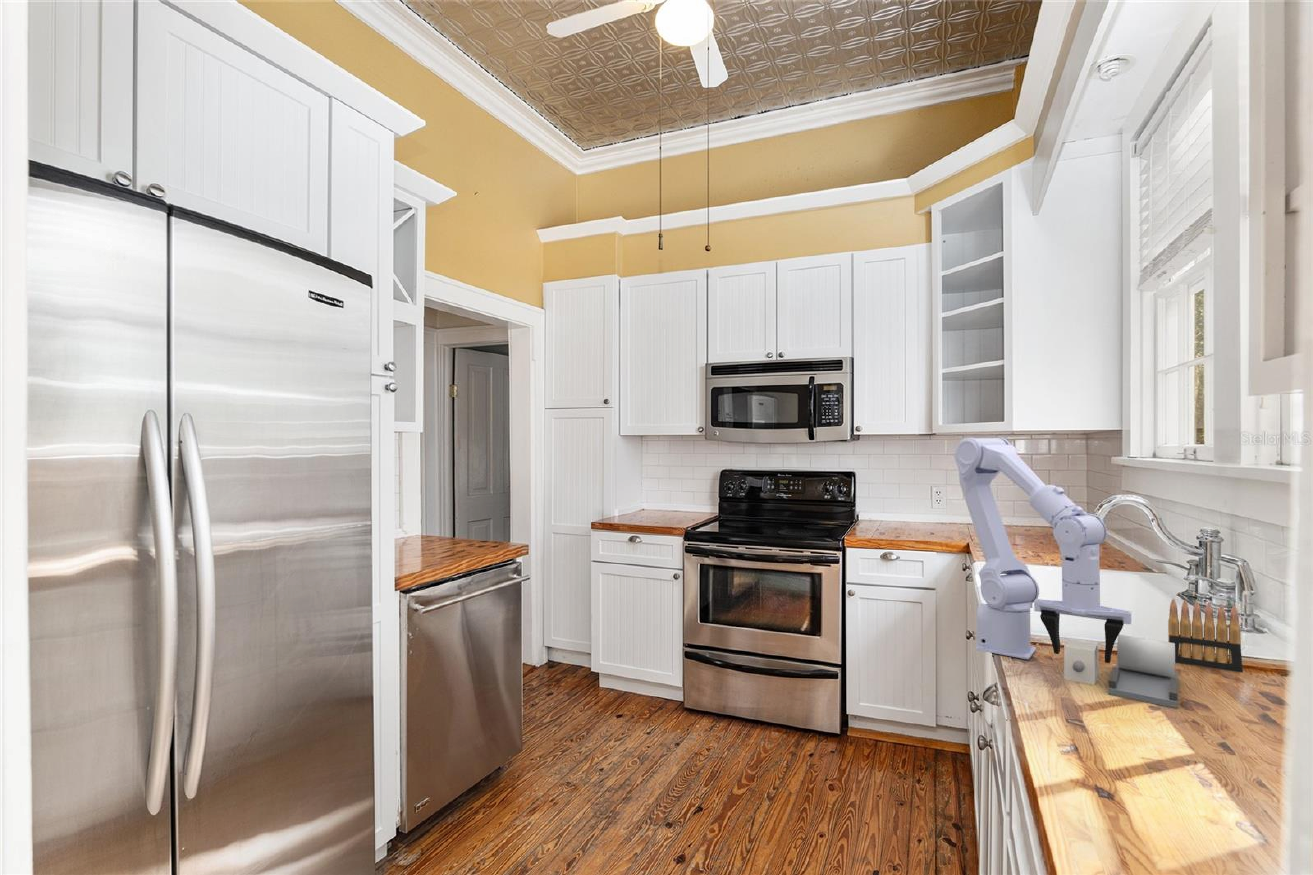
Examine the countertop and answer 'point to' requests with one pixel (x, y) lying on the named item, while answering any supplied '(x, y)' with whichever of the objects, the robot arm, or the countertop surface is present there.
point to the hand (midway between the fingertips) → (1081, 656)
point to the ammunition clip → (1205, 638)
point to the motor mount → (1145, 671)
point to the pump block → (1081, 661)
